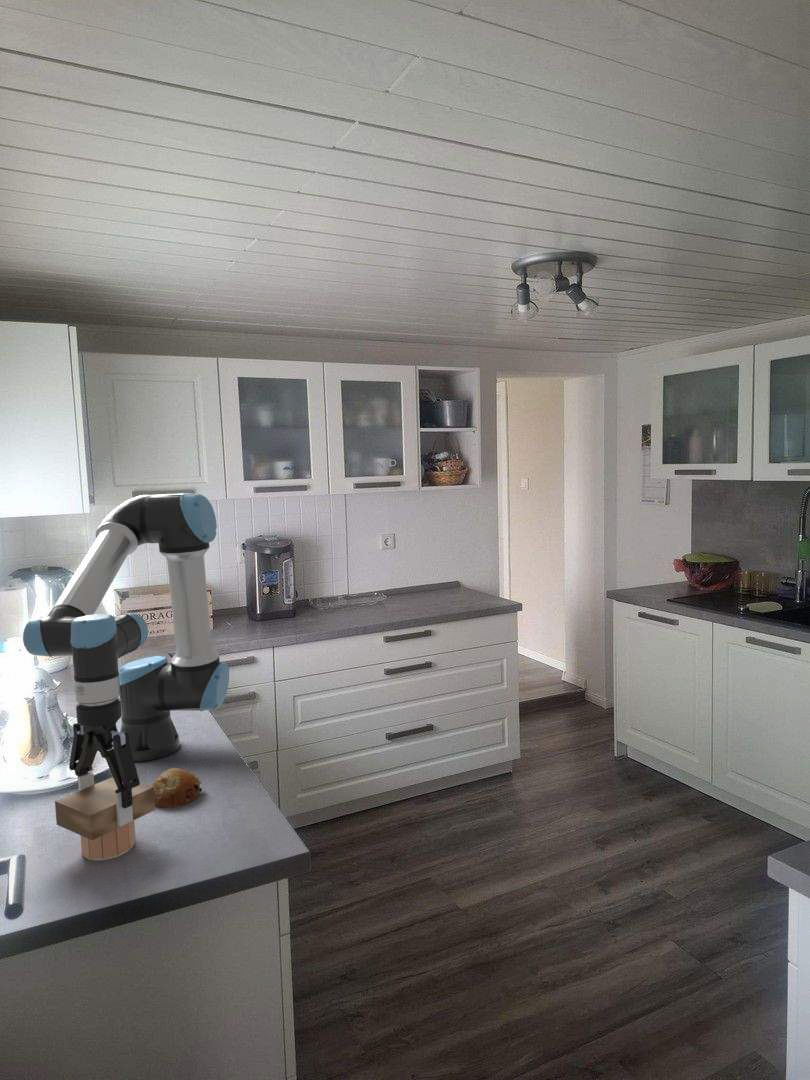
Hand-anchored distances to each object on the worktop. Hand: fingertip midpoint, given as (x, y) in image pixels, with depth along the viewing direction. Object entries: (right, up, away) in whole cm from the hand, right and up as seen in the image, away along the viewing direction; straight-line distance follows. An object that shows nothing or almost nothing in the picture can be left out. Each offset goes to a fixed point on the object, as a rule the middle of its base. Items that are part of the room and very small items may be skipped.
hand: (106, 815), depth 132 cm
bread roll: (+6, -5, +21) cm, 23 cm away
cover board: (0, 0, 0) cm, 0 cm away
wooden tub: (0, -6, +1) cm, 6 cm away
